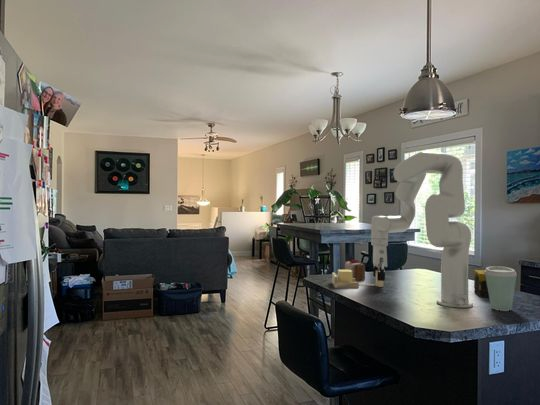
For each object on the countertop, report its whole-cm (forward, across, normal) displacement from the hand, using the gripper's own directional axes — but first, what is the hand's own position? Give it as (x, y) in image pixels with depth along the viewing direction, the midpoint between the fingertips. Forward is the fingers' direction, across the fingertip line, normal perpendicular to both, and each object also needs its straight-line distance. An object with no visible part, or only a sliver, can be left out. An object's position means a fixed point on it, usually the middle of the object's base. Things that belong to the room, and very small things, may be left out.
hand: (378, 278), depth 189 cm
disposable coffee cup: (+3, -39, -36) cm, 53 cm away
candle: (+3, -16, -43) cm, 46 cm away
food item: (+4, +18, +8) cm, 21 cm away
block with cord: (+4, 0, +8) cm, 9 cm away
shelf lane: (+4, 0, +16) cm, 16 cm away
